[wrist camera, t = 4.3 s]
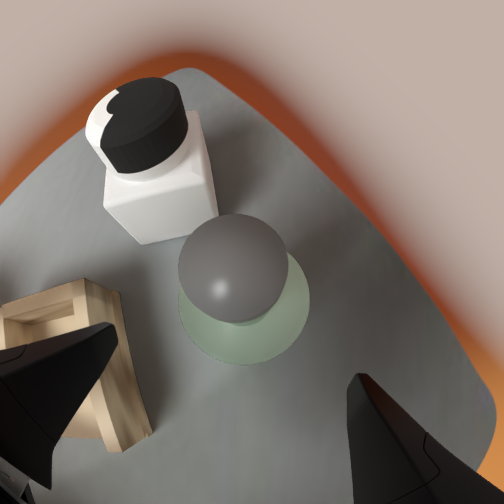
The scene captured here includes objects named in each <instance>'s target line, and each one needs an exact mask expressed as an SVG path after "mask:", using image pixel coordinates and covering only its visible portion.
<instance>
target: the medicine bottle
mask: <svg viewBox="0 0 504 504" xmlns="http://www.w3.org/2000/svg"><path fill="white" fill-rule="evenodd" d="M86 137H87V139H88V141H89V142H90V144H91V145H92V147H93V148H94V150H95V151H96V152H97V154H98V155H99V157H100V158H101V159H102V161H103V162H104V164H105V165H106V166H107V170H106V179H105V190H104V203H103V205H104V208H105V209H106V210H107V211H108V212H109V213H110V214H111V215H112V216H113V217H114V218H115V219H116V220H117V221H118V222H119V223H120V224H121V225H122V226H123V227H124V228H125V229H126V230H127V231H128V232H129V233H130V234H131V235H132V236H133V237H134V238H135V239H136V240H137V241H138V242H139V243H140V244H141V245H146V244H150V243H155V242H159V241H164V240H168V239H173V238H177V237H182V236H186V235H191V233H192V232H193V231H194V230H195V229H196V228H198V227H199V226H200V225H201V224H203V223H205V222H206V221H208V220H210V219H212V218H215V217H218V216H219V212H218V206H217V201H216V195H215V189H214V183H213V177H212V171H211V164H210V160H209V156H208V152H207V148H206V144H205V140H204V135H203V131H202V127H201V123H200V119H199V115H198V112H197V111H195V110H191V111H187V112H185V109H184V106H183V102H182V99H181V95H180V91H179V89H178V87H177V86H176V85H175V84H174V83H172V82H170V81H168V80H165V79H162V78H155V77H150V78H142V79H138V80H134V81H131V82H129V83H126V84H124V85H122V86H120V87H118V88H117V89H115V90H113V91H112V92H110V93H109V94H108V95H106V96H105V97H104V98H103V99H102V100H101V101H100V102H99V103H98V104H97V105H96V106H95V108H94V109H93V110H92V112H91V114H90V116H89V118H88V121H87V125H86Z"/></svg>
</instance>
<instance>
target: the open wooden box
mask: <svg viewBox="0 0 504 504" xmlns="http://www.w3.org/2000/svg"><path fill="white" fill-rule="evenodd" d="M102 322H109V323H112V324H114V325H115V328H116V332H117V336H118V345H117V347H116V349H115V351H114V353H113V355H112V357H111V359H110V360H109V362H108V364H107V366H106V368H105V370H104V372H103V373H102V375H101V376H100V378H99V379H98V381H97V382H96V383H95V385H94V386H93V388H92V389H91V391H90V392H89V394H88V395H87V397H86V398H85V400H84V401H83V403H82V404H81V406H80V407H79V409H78V411H77V412H76V414H75V415H74V417H73V418H72V420H71V421H70V423H69V425H68V426H67V428H66V429H65V431H64V433H63V434H62V436H61V437H73V438H103V441H104V443H105V446H106V449H107V451H108V452H123V451H125V450H127V449H128V448H130V447H131V446H133V445H134V444H136V443H137V442H139V441H140V440H141V439H143V438H144V437H149V436H150V435H152V434H153V432H152V429H151V426H150V423H149V420H148V417H147V414H146V411H145V408H144V404H143V401H142V397H141V394H140V390H139V387H138V383H137V379H136V375H135V371H134V367H133V363H132V359H131V354H130V350H129V345H128V341H127V336H126V330H125V325H124V320H123V314H122V308H121V301H120V294H119V292H117V291H115V290H111V291H110V290H108V289H106V288H104V287H102V286H100V285H97V284H95V283H93V282H91V281H89V280H87V279H85V278H82V279H79V280H76V281H73V282H69V283H66V284H63V285H60V286H57V287H54V288H51V289H48V290H45V291H42V292H39V293H36V294H33V295H30V296H27V297H24V298H21V299H18V300H15V301H12V302H9V303H6V304H3V305H0V350H3V349H8V348H12V347H16V346H20V345H24V344H29V343H32V342H36V341H40V340H43V339H47V338H50V337H54V336H57V335H61V334H64V333H68V332H71V331H74V330H78V329H81V328H85V327H88V326H91V325H95V324H98V323H102Z"/></svg>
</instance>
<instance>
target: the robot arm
mask: <svg viewBox="0 0 504 504" xmlns="http://www.w3.org/2000/svg"><path fill="white" fill-rule="evenodd" d="M117 345H118V336H117V332H116V328H115V325H114V324H112V323H109V322H102V323H98V324H95V325H91V326H88V327H85V328H81V329H78V330H74V331H71V332H68V333H64V334H61V335H57V336H54V337H50V338H47V339H43V340H40V341H36V342H32V343H29V344H24V345H20V346H16V347H12V348H8V349H3V350H0V504H35V502H34V499H33V496H32V493H31V489H30V486H29V483H28V481H29V480H30V478H31V479H32V480H34V481H35V482H37V483H39V484H40V485H42V486H44V487H45V488H47V489H49V490H51V488H52V454H53V450H54V447H55V446H56V444H57V442H58V441H59V439H60V437H61V436H62V434H63V433H64V431H65V429H66V428H67V426H68V425H69V423H70V421H71V420H72V418H73V417H74V415H75V414H76V412H77V411H78V409H79V407H80V406H81V404H82V403H83V401H84V400H85V398H86V397H87V395H88V394H89V392H90V391H91V389H92V388H93V386H94V385H95V383H96V382H97V381H98V379H99V378H100V376H101V375H102V373H103V372H104V370H105V368H106V366H107V364H108V362H109V360H110V359H111V357H112V355H113V353H114V351H115V349H116V347H117ZM347 431H348V439H349V449H350V459H351V469H352V482H353V497H354V504H504V492H503V491H501V490H500V489H498V488H497V487H496V486H494V485H493V484H492V483H490V482H489V481H487V480H486V479H485V478H483V477H482V476H481V475H479V474H478V473H477V472H475V471H474V470H473V469H471V468H470V467H469V466H467V465H466V464H465V463H463V462H462V461H461V460H459V459H458V458H457V457H456V456H454V455H453V454H452V453H450V452H449V451H448V450H447V449H446V448H444V447H443V446H442V445H441V444H440V443H439V442H438V441H436V440H435V439H434V438H433V437H432V436H431V435H430V434H429V433H428V432H426V431H425V430H424V429H423V428H422V427H421V426H420V425H419V424H418V423H417V422H416V421H415V420H414V419H413V418H412V417H411V416H410V415H409V414H408V413H407V412H406V411H405V410H404V409H403V408H402V407H401V406H400V405H399V404H398V403H396V402H395V401H394V400H393V399H392V398H391V397H390V396H389V395H388V394H387V393H386V392H385V391H384V390H383V389H382V388H381V387H380V386H379V385H378V384H377V383H376V382H375V381H374V380H373V379H372V378H371V377H370V376H369V375H368V374H366V373H356V374H355V376H354V377H353V379H352V381H351V382H350V384H349V386H348V389H347Z"/></svg>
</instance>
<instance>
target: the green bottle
mask: <svg viewBox="0 0 504 504" xmlns="http://www.w3.org/2000/svg"><path fill="white" fill-rule="evenodd" d="M178 273H179V279H180V283H181V285H180V289H179V297H178V304H179V313H180V317H181V320H182V324H183V326H184V328H185V330H186V332H187V334H188V335H189V337H190V338H191V339H192V341H193V342H194V343H195V344H196V345H197V346H198V347H199V348H200V349H201V350H202V351H204V352H205V353H206V354H208V355H209V356H211V357H213V358H215V359H217V360H220V361H223V362H226V363H230V364H236V365H251V364H257V363H262V362H265V361H268V360H270V359H272V358H274V357H276V356H278V355H280V354H281V353H282V352H284V351H285V350H286V349H288V348H289V347H290V346H291V345H292V344H293V343H294V341H295V340H296V339H297V338H298V336H299V335H300V333H301V331H302V330H303V328H304V325H305V323H306V320H307V317H308V313H309V306H310V294H309V287H308V284H307V280H306V277H305V275H304V273H303V271H302V269H301V267H300V266H299V264H298V263H297V261H296V260H295V259H294V258H293V257H292V256H291V255H290V254H289V253H288V252H287V251H286V248H285V246H284V244H283V242H282V240H281V238H280V237H279V235H278V234H277V233H276V232H275V231H274V230H273V229H272V228H271V227H270V226H269V225H267V224H266V223H265V222H263V221H261V220H259V219H257V218H254V217H252V216H248V215H242V214H227V215H222V216H218V217H215V218H212V219H210V220H208V221H206V222H205V223H203V224H201V225H200V226H199V227H198V228H196V229H195V230H194V231H193V232H192V233H191V235H190V236H189V237H188V239H187V240H186V242H185V244H184V246H183V248H182V250H181V253H180V257H179V264H178Z"/></svg>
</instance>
